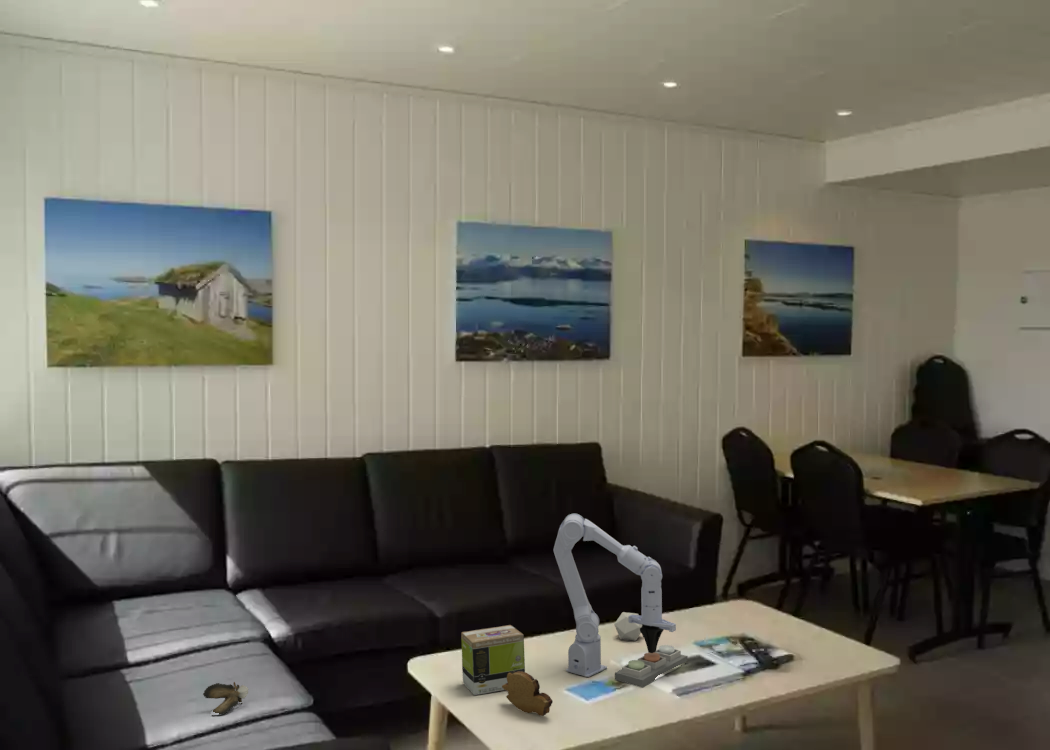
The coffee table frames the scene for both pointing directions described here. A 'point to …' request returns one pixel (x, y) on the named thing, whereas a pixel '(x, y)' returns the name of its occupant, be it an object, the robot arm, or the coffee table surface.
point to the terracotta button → (652, 657)
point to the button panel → (650, 669)
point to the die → (627, 627)
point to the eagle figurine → (226, 695)
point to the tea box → (491, 657)
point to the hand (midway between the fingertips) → (652, 651)
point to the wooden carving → (526, 693)
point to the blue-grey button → (666, 649)
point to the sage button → (636, 665)
